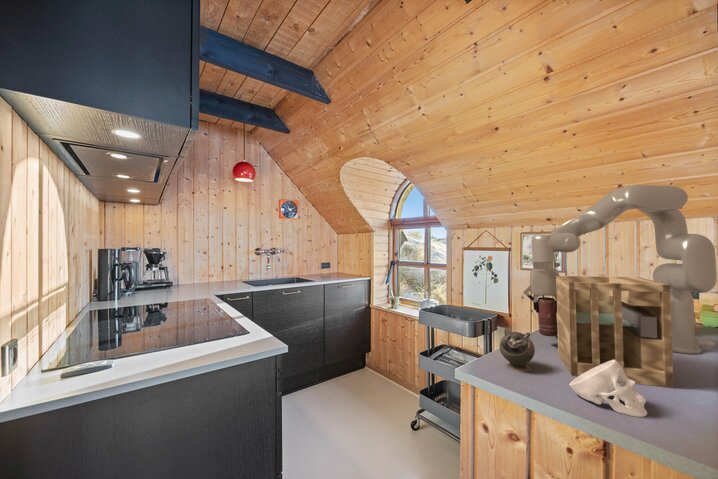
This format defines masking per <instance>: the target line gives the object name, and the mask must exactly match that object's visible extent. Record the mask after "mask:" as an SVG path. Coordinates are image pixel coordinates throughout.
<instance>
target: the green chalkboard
mask: <svg viewBox="0 0 718 479" xmlns="http://www.w3.org/2000/svg"><path fill="white" fill-rule="evenodd" d="M598 315H599V324H603V325H614V313H613V314H603V313H598ZM576 323H588V324H591V313H585V312H576ZM622 326H625V327H627V328H628V329H630V330H631V331H633V332H634V333H636V334H638V335H639V336H641V337H650V338H657V318H656V317H654V316H652V315H650V314H648V313H646V312H643V311H641V310H639V309H637V308H635V307H629V306H622Z"/></svg>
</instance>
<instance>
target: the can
mask: <svg viewBox="0 0 718 479" xmlns="http://www.w3.org/2000/svg"><path fill="white" fill-rule="evenodd" d="M555 300H556V299H555V297H550V296H541V297H538V299H537V302H538V307H539V312H538V313H537V315H538V316H537V317H538V329H539V330H538V332H539V334H540V335H542V336H544V337H555V336H557V334H558V328H557V313H556V301H555Z"/></svg>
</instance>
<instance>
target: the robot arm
mask: <svg viewBox="0 0 718 479" xmlns="http://www.w3.org/2000/svg"><path fill="white" fill-rule="evenodd" d="M688 198H689V196H688V193H687V192H686V191H685V189H684V188H682V187H678V186H675V185H655V184H654V185H653V184H652V185H649V184H648V185H647V184H635V185H629V186H624V187H620V188H616V189H613V190H612V191H610V192H608V193H607V194H606V195H604V196H603V197H602V198H601V199H600V200H598V201H597V202H596V203H594V204H592V206H590V207H589V208H588V209H586V210H585V211H583V212H581V213H579V214H578V215H577V216H574V217H573V218H571V219H569V220H567V221H566V222H564V223H562V224H561V225H559V226H558V227H557V228H556V229H554V230H553V231H552V232H550V233H549V234H535V235H533V236H531V253H532V255H531V256H532V268H533V269H531V270H530V276H529V286H528V287H527V288H526V289H525V290H524V291H523V295H525V296H526V297H527V298H529V300H531V301H532V302H533V310H534V311H535V313H537V314H538V312H539V307H538V302H537V300H538V298H540V296H541V297H551V296H552V297H553V298H554V299H555V301H556V313H557V290H556V276H560V273H559V270H558V269H557V267H561V263H560V262H557V261H556V253H573V252H575V251H577V250H578V249H579V247H580V246H581V239H580V238H579V237H581V236H583V235H586V234H588V233H593V232H595V231H596V232H597V231H598V230H601V229H602V228H605V227H606V226H608V225H609V224H610V223H611V222H613V221H614V220H615V219H616V218H618V217H620V216H621V215H622V214H623V213H625V212H626V211H628V210H629V211H630V210H638V211H639V212H641V213H642V214H645V215H646V216H647V217H649V219H650V220H651V221H652V224H653V228H654V236H655V239H654V240H655V249H656V253H657V255H658V256H659V257H660V258H662V259H666V260H670V261H671V260H673V261H681V263H675V262H668V263H662V264H660V265H658V266H657V267H655V268H654V269H653V272H652V281H656V282H660V283H664V284H668V285H670V299H671V330H672V353H680V354H687V355H688V354H689V355H697V354H701V353H702V352H703V349H702V347H708V348H714V347H715V343H714V341H713V340H712V341H711V340H710V341H709V340H704V339H700V338H697V337H696V327H695V326H696V325H695V324H696V323H695V319H694V313H695V302H694V298H693V296H692V293H695V294H696V293H698V294H702V293H703V294H704V293H708V292H710V291H711V290H713V289H714V288H715V286H716V284H717V281H718V280H717V279H718V274H717V273H718V272H717V271H718V270H717V260H716V259H717V258H716V249H715V245H714V244H713V242H712V240H710V238H708V237H707V236H705V235H702V234H699V233H698V234H697V233H689V231H688V226H687V220H686V217H685V216H684V214H683V212H682V211H681V210H680V209H682V208H683V207H684V206H685V205H686V204H687V202H688ZM530 293H531V294H532V295H533V296H532V295H531V294H530Z"/></svg>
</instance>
